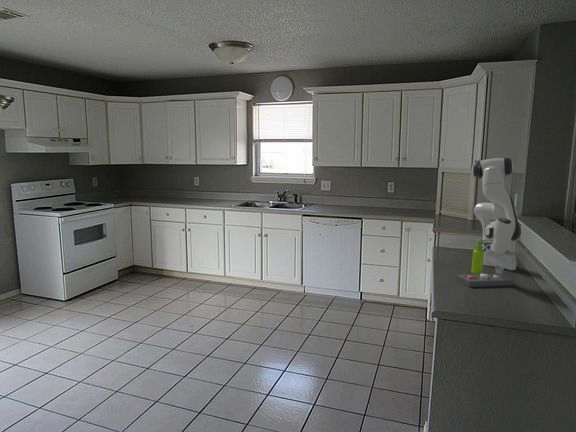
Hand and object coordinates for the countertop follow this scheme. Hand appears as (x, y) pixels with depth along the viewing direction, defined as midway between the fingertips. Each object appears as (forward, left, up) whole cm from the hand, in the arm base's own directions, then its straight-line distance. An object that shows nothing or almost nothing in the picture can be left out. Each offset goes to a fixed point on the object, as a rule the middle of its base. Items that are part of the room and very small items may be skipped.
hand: (498, 273), depth 224 cm
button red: (+17, 0, -4) cm, 17 cm away
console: (+9, 0, -5) cm, 10 cm away
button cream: (+9, 0, -3) cm, 10 cm away
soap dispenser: (0, -18, -5) cm, 19 cm away
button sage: (+1, 0, -4) cm, 4 cm away
